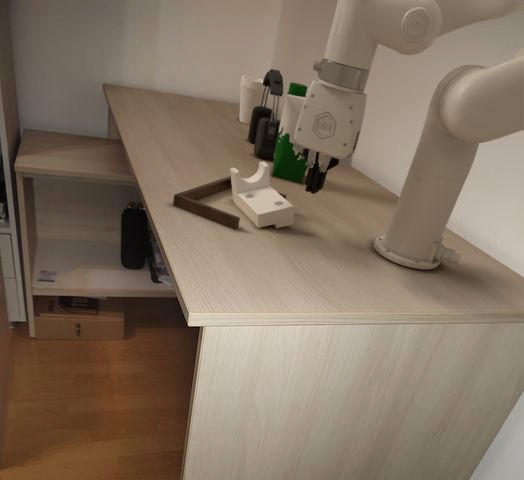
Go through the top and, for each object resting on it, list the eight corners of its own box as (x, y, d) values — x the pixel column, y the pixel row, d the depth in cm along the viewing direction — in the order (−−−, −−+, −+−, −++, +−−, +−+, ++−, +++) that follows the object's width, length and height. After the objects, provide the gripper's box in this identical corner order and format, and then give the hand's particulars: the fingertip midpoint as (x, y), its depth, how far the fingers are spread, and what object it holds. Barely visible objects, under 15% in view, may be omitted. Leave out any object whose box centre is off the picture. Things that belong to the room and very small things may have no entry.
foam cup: (230, 117, 167) (236, 74, 160) (255, 120, 171) (262, 78, 164) (241, 124, 161) (248, 80, 153) (266, 127, 165) (274, 84, 157)
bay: (284, 204, 103) (286, 195, 102) (235, 229, 86) (237, 218, 85) (229, 184, 107) (231, 175, 105) (173, 205, 90) (173, 194, 89)
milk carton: (274, 167, 125) (291, 80, 114) (308, 176, 124) (329, 89, 113) (267, 175, 118) (285, 83, 106) (303, 185, 117) (325, 93, 106)
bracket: (233, 205, 99) (230, 168, 94) (265, 198, 101) (263, 161, 96) (258, 232, 90) (256, 193, 85) (293, 223, 92) (293, 184, 87)
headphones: (278, 162, 130) (295, 78, 118) (254, 158, 128) (269, 73, 117) (266, 141, 147) (280, 66, 136) (246, 138, 146) (258, 62, 135)
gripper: (292, 64, 76) (266, 181, 87) (381, 91, 72) (343, 210, 83) (309, 65, 82) (284, 174, 93) (393, 90, 78) (356, 201, 89)
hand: (312, 191), depth 88 cm, fingers closed
